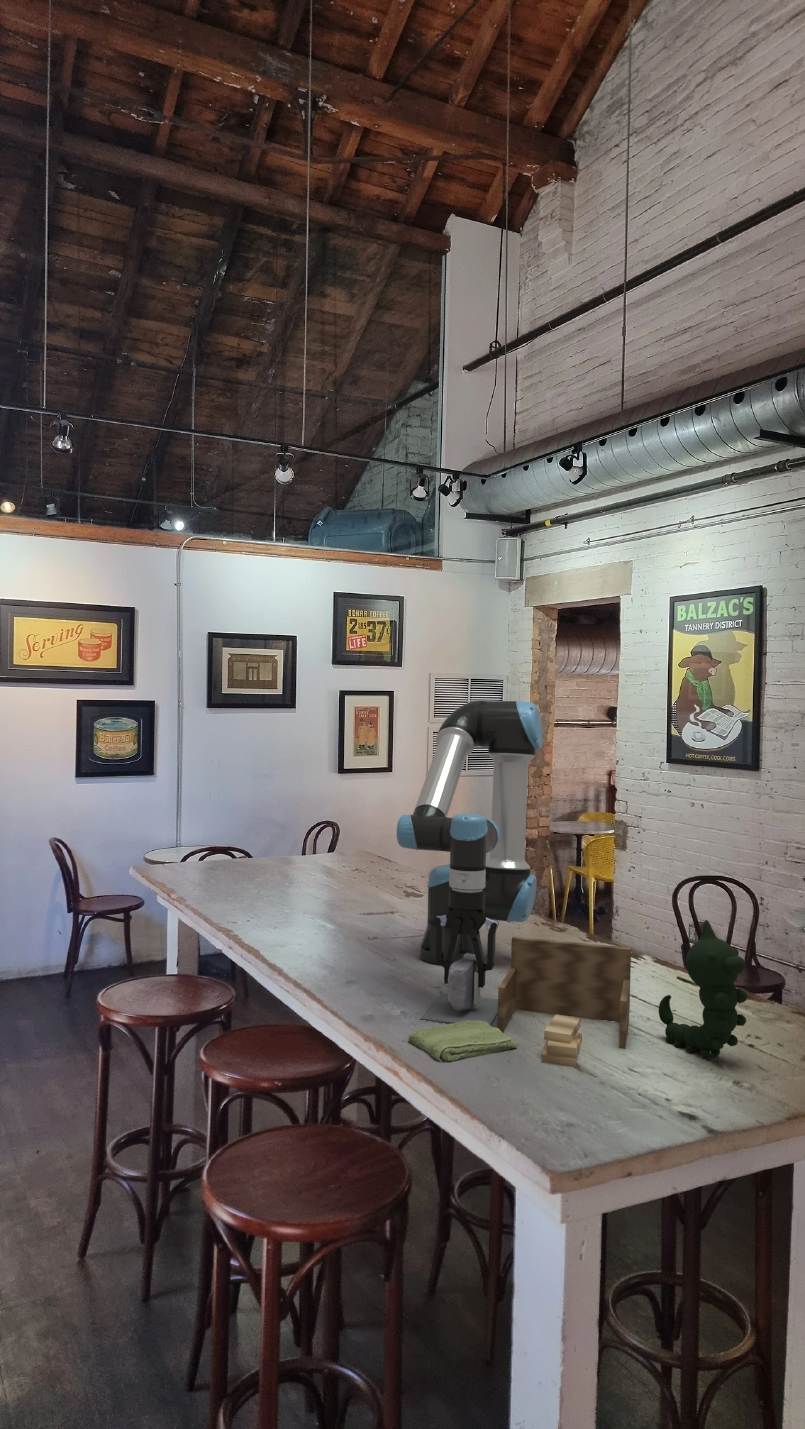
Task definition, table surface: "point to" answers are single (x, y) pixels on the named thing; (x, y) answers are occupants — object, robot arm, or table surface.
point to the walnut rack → (567, 982)
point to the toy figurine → (709, 996)
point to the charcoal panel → (448, 1015)
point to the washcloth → (461, 1040)
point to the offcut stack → (562, 1041)
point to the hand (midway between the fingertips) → (464, 1000)
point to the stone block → (462, 982)
